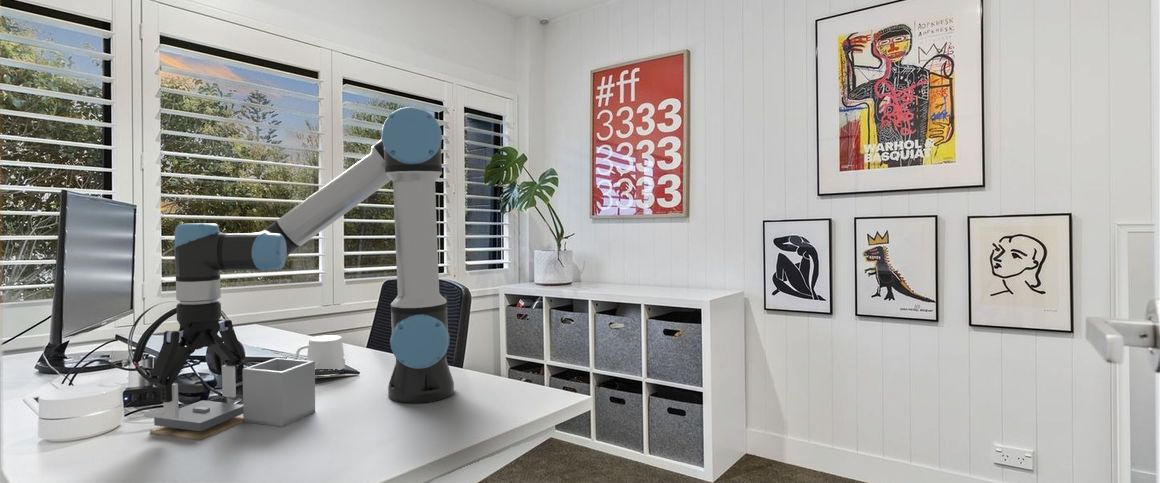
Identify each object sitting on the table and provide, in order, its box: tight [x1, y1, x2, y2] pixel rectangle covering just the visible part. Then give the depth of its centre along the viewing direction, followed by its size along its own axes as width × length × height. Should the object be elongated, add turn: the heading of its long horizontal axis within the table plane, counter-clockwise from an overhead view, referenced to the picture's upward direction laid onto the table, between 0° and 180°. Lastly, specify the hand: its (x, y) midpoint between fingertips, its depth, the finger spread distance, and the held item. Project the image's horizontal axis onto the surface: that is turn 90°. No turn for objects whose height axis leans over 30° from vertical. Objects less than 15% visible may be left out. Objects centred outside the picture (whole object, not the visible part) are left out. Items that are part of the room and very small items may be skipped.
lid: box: [153, 399, 243, 431], centre depth 124 cm, size 11×11×3 cm
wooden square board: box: [149, 414, 245, 441], centre depth 124 cm, size 12×12×1 cm
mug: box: [295, 334, 346, 370], centre depth 163 cm, size 12×9×8 cm
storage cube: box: [242, 357, 316, 427], centre depth 129 cm, size 10×10×11 cm
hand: (201, 406), depth 124 cm, fingers open, 13 cm apart
